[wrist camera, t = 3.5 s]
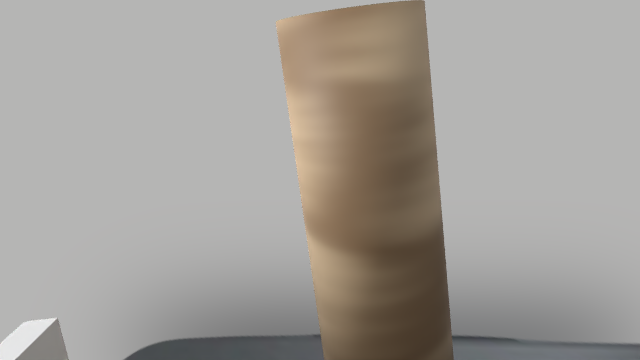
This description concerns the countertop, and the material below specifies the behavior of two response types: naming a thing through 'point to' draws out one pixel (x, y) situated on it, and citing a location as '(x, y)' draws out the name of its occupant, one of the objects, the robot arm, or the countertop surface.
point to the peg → (369, 179)
